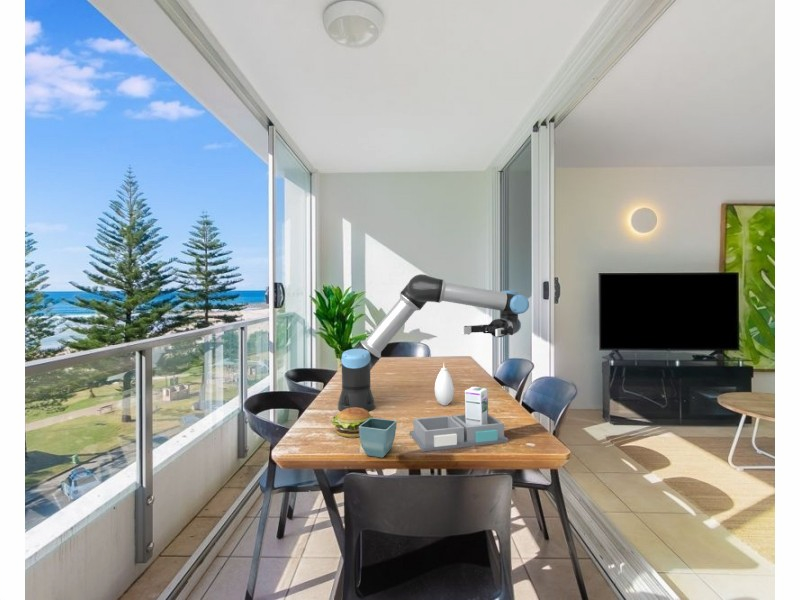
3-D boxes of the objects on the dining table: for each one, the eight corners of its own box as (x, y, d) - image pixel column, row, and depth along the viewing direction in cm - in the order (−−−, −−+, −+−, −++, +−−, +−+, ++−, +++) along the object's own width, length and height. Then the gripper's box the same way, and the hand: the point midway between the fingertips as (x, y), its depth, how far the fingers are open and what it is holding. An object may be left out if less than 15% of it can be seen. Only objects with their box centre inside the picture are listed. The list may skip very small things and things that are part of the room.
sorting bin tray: (422, 451, 117) (422, 433, 117) (409, 434, 131) (409, 417, 131) (508, 442, 123) (508, 424, 123) (486, 426, 138) (486, 410, 138)
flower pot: (397, 449, 118) (397, 420, 118) (387, 461, 110) (386, 429, 110) (370, 446, 121) (370, 417, 121) (358, 457, 113) (357, 426, 113)
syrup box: (482, 437, 125) (481, 391, 125) (464, 434, 128) (464, 389, 128) (488, 432, 130) (488, 388, 129) (471, 428, 133) (471, 385, 133)
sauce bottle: (431, 404, 166) (430, 361, 165) (444, 401, 170) (444, 359, 170) (443, 408, 159) (443, 364, 159) (457, 405, 164) (457, 362, 164)
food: (324, 431, 135) (324, 408, 135) (359, 423, 143) (359, 401, 143) (344, 443, 124) (344, 418, 124) (381, 433, 132) (381, 409, 132)
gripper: (530, 338, 158) (511, 344, 141) (473, 335, 173) (450, 339, 156) (530, 319, 158) (511, 323, 141) (473, 317, 173) (449, 320, 156)
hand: (479, 332), depth 149 cm, fingers open, 13 cm apart
